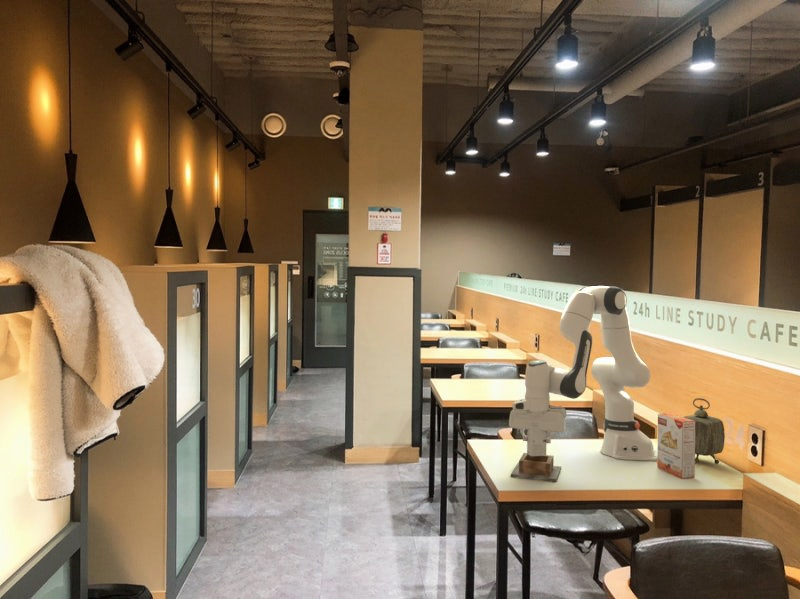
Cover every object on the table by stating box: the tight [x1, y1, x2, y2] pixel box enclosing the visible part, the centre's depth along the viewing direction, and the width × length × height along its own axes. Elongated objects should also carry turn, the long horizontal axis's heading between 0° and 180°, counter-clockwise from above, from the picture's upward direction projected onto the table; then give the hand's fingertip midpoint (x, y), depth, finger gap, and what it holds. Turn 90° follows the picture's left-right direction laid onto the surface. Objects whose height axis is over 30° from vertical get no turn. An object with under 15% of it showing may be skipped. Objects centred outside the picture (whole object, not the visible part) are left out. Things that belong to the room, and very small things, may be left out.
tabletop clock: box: [683, 397, 726, 465], centre depth 241 cm, size 14×9×25 cm, turn 31°
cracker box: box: [656, 412, 696, 480], centre depth 227 cm, size 14×6×21 cm, turn 13°
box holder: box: [510, 452, 562, 483], centre depth 226 cm, size 16×16×6 cm
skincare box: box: [526, 423, 548, 456], centre depth 226 cm, size 6×4×12 cm
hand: (536, 441), depth 226 cm, fingers closed on skincare box, 7 cm apart
